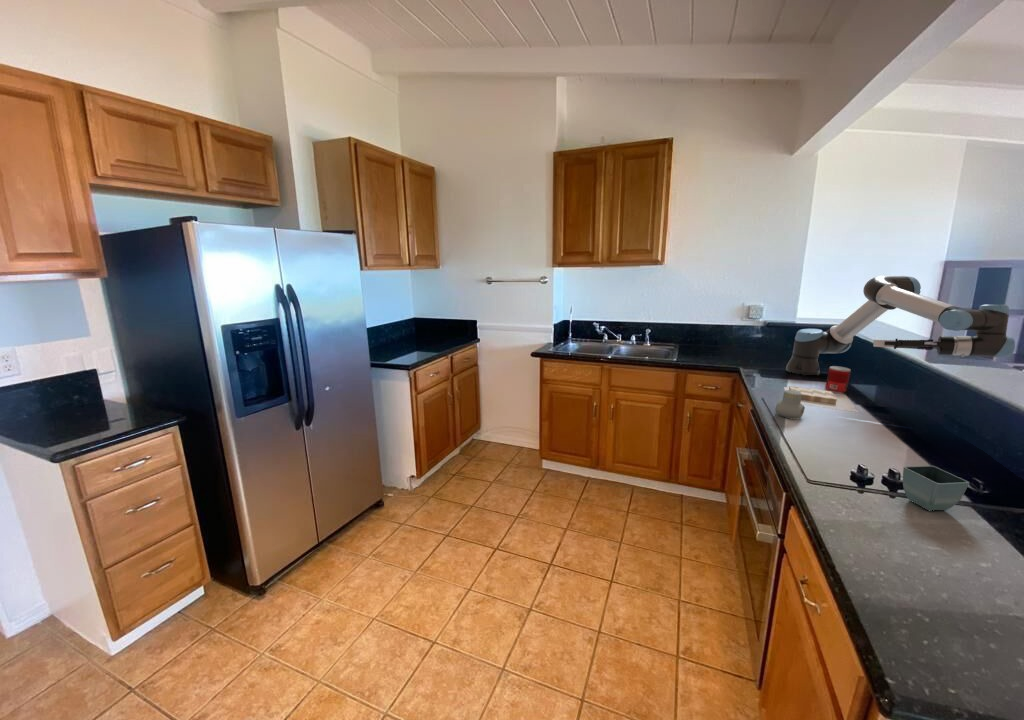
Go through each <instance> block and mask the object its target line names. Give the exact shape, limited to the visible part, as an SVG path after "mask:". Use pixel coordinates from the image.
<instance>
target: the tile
mask: <svg viewBox="0 0 1024 720" xmlns="http://www.w3.org/2000/svg"><path fill="white" fill-rule="evenodd" d="M788 388H789V390H793V391H797V392H800V393H801V394H802V397H801V400H806V401H813V402H820V403H827V404H834V405H836V401H837V399H836V397H835V396H834V394H835V393H833V391H831V390H824V389H815V388H807V387H801V386H800V387H799V386H794V385H793V386H792V385H789V386H788Z"/></svg>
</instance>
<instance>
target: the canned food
mask: <svg viewBox="0 0 1024 720" xmlns="http://www.w3.org/2000/svg"><path fill="white" fill-rule="evenodd" d="M850 376H851V368H848V367H846V366H845V367H844V366H837V365H832V366H829V368H828V374H827V378H826V383H825V389H826V390H827V391H831V392H837V393H845V392H846V391H847V388H848V385H849V382H850V381H849V380H850Z"/></svg>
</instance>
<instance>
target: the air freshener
mask: <svg viewBox="0 0 1024 720" xmlns="http://www.w3.org/2000/svg"><path fill="white" fill-rule="evenodd" d="M801 397H802V394H801V393H800V392H797V391H793V390H786V391H785V390H784V391H783V395H782V400H779V401H777V403H776V404H775V408H774V411H775V413H776V414H777V415H778V416H780V417H783V418H785V419H790V418H792V420H798V419H800V418H802V417H803V415H804V413H805V406H804V404H801V403H800V402H801Z"/></svg>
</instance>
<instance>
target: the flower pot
mask: <svg viewBox="0 0 1024 720" xmlns="http://www.w3.org/2000/svg"><path fill="white" fill-rule="evenodd" d="M969 485H970V481H968V480H966V479H963V478H962V477H958V476H957V475H955V474H952V473H950V472H948V471H947V470H946V471H945V470H943V469H941V468H940V467H937V466H934V465H916V466H915V465H913V466H912V465H911V466H903V472H902V486H903V487H902V489H903V491H904V493H905V495H906V497H907V499H908V500H909V501H910V500H911V501H913V502H914V503H913V502H912V503H913V504H915V503H916V504H918V505H920V506H922V507H924V508H925V509H927V510H930V511H929V512H935V511H934V510H945V511H947V510H950V509H951V508H953V507H954V506H956V505H957V504H959V502H960V501H961V500H962V498H963V496H964V494H965V492H966V491H967V488H968V487H969ZM911 501H910V502H911ZM916 504H915V505H916ZM918 505H917V506H918ZM920 506H919V507H920ZM922 507H921V508H922ZM925 509H924V510H925ZM927 510H926V511H927ZM932 510H933V511H932Z"/></svg>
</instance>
